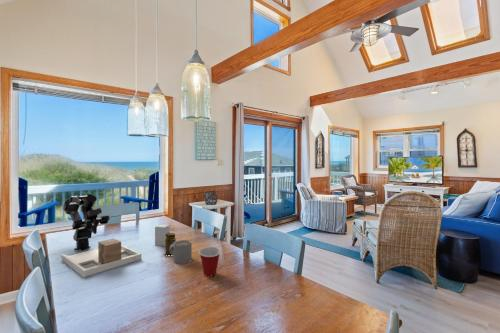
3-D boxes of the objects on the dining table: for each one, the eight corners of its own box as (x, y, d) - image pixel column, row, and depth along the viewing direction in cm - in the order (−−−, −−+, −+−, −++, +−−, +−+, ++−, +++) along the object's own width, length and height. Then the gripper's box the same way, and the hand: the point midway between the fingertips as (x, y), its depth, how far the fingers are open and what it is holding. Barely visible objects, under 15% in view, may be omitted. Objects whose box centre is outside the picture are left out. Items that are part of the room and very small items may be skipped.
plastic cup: (202, 281, 118) (202, 256, 117) (196, 272, 127) (196, 248, 127) (224, 276, 123) (224, 252, 122) (216, 268, 132) (216, 245, 132)
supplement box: (164, 246, 166) (164, 227, 166) (154, 245, 168) (154, 226, 167) (170, 242, 173) (170, 224, 173) (160, 242, 175) (160, 224, 175)
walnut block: (98, 262, 136) (98, 242, 136) (114, 257, 142) (113, 238, 142) (105, 266, 130) (105, 245, 130) (121, 261, 136) (121, 241, 136)
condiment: (175, 251, 158) (175, 232, 157) (177, 255, 150) (177, 235, 150) (163, 252, 155) (163, 233, 154) (165, 257, 147) (165, 237, 147)
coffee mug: (195, 258, 145) (195, 241, 145) (182, 264, 136) (182, 246, 136) (178, 254, 152) (178, 237, 152) (165, 259, 143) (165, 242, 143)
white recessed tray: (61, 260, 142) (61, 254, 142) (114, 246, 165) (114, 241, 165) (84, 277, 121) (83, 270, 121) (141, 259, 144) (141, 253, 143)
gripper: (73, 206, 144) (80, 228, 137) (108, 202, 158) (116, 222, 152) (69, 218, 149) (75, 240, 142) (103, 213, 163) (110, 233, 157)
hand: (95, 233), depth 148 cm, fingers closed
